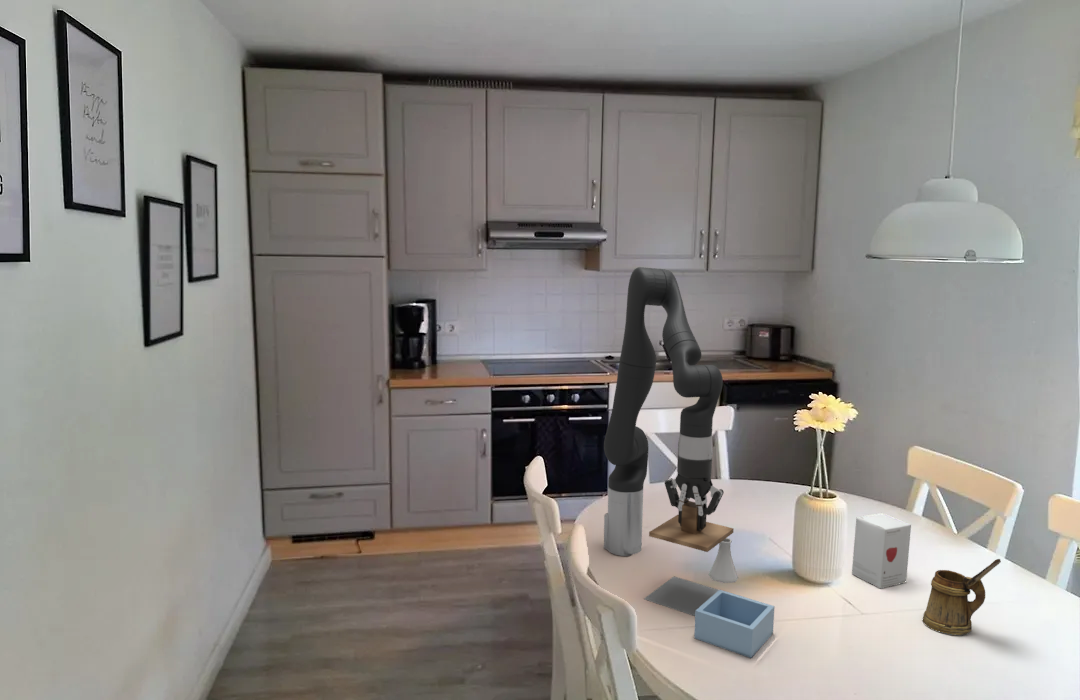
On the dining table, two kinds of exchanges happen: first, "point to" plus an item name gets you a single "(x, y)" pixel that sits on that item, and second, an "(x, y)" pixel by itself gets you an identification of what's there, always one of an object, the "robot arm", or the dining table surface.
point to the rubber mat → (681, 595)
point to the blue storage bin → (734, 623)
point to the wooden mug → (954, 600)
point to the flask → (724, 564)
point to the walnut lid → (691, 530)
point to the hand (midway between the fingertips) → (691, 527)
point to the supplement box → (881, 549)
